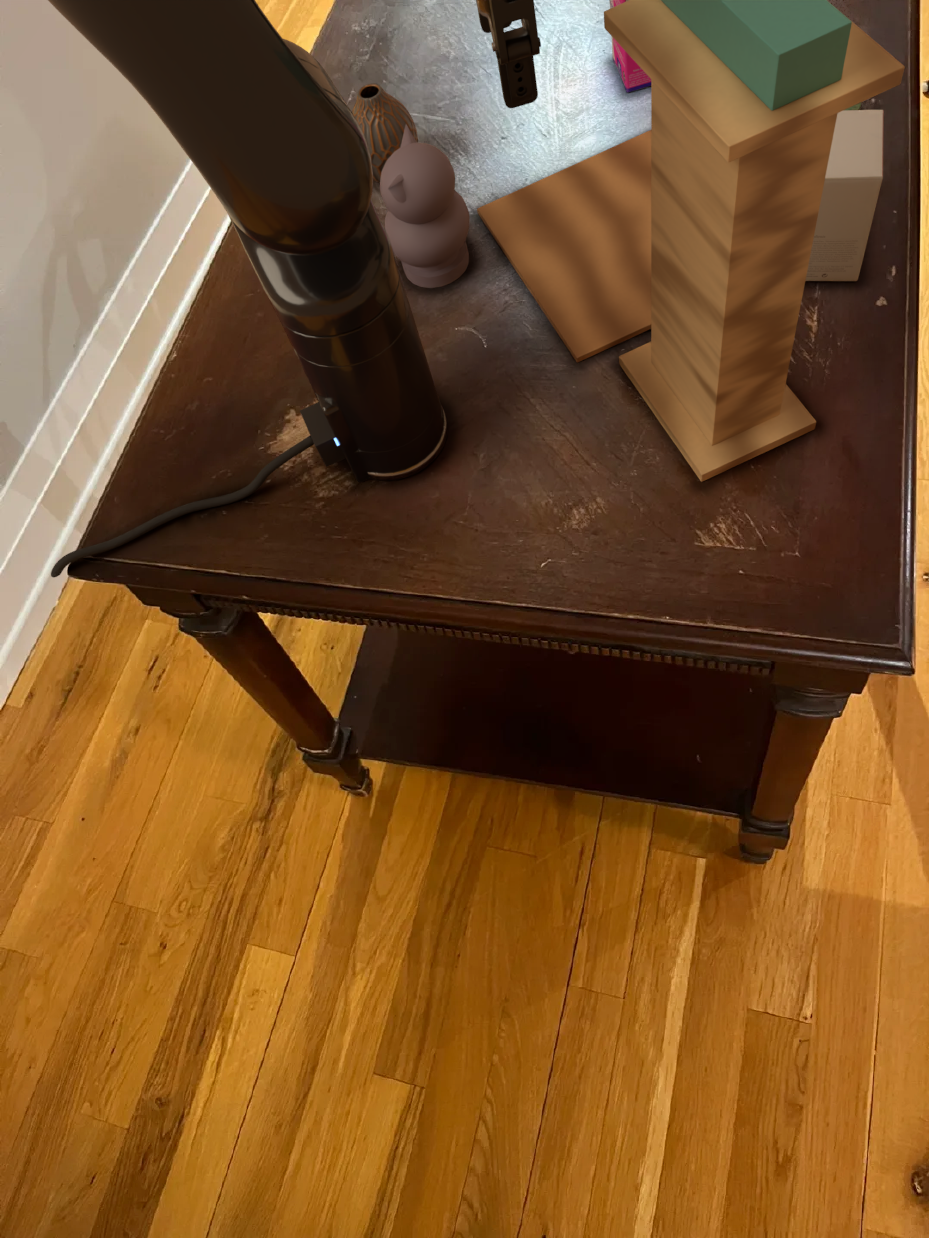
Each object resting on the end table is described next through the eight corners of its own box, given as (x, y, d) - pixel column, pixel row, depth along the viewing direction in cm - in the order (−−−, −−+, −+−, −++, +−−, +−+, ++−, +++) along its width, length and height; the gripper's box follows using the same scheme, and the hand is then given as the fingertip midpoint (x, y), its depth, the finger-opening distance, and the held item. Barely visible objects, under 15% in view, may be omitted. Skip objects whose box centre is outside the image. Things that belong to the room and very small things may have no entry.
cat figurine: (470, 297, 87) (445, 188, 76) (389, 298, 89) (354, 191, 78) (483, 230, 90) (461, 117, 80) (405, 232, 92) (374, 122, 82)
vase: (351, 164, 98) (325, 85, 90) (411, 138, 98) (391, 58, 91) (371, 203, 95) (346, 125, 87) (433, 177, 95) (414, 96, 87)
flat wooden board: (577, 363, 81) (576, 358, 81) (477, 213, 92) (476, 208, 91) (783, 268, 82) (784, 262, 81) (661, 130, 92) (661, 124, 92)
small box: (857, 284, 80) (884, 178, 70) (788, 283, 81) (806, 179, 72) (860, 216, 83) (886, 106, 74) (793, 216, 84) (811, 109, 75)
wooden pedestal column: (701, 482, 74) (729, 146, 47) (619, 364, 80) (603, 11, 54) (814, 429, 74) (905, 66, 48) (723, 316, 81) (758, -59, 54)
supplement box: (610, 61, 98) (605, -56, 88) (665, 45, 98) (667, -74, 88) (624, 95, 95) (621, -22, 85) (681, 79, 95) (685, -41, 85)
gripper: (380, -264, 53) (439, 20, 68) (417, -141, 47) (474, 145, 61) (508, -306, 53) (540, -10, 67) (564, -187, 46) (587, 113, 60)
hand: (508, 64), depth 64 cm, fingers open, 8 cm apart
